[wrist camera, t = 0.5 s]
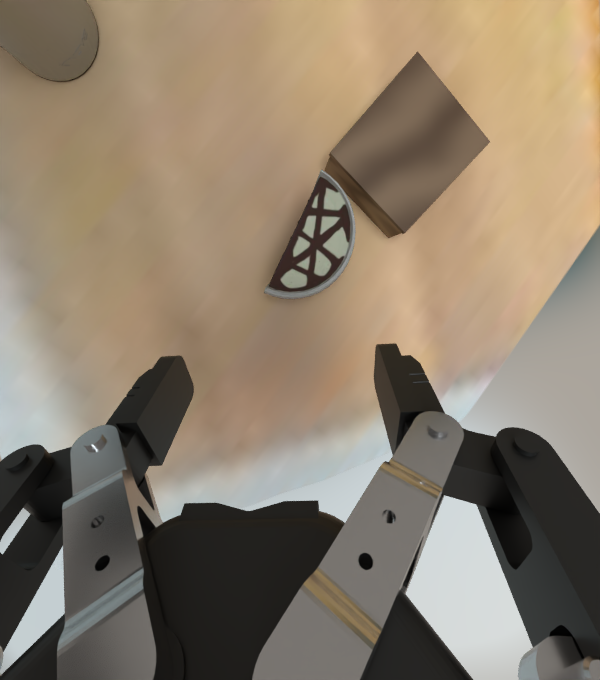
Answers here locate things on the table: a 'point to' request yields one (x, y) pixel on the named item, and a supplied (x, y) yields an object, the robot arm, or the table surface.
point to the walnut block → (405, 149)
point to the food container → (316, 244)
